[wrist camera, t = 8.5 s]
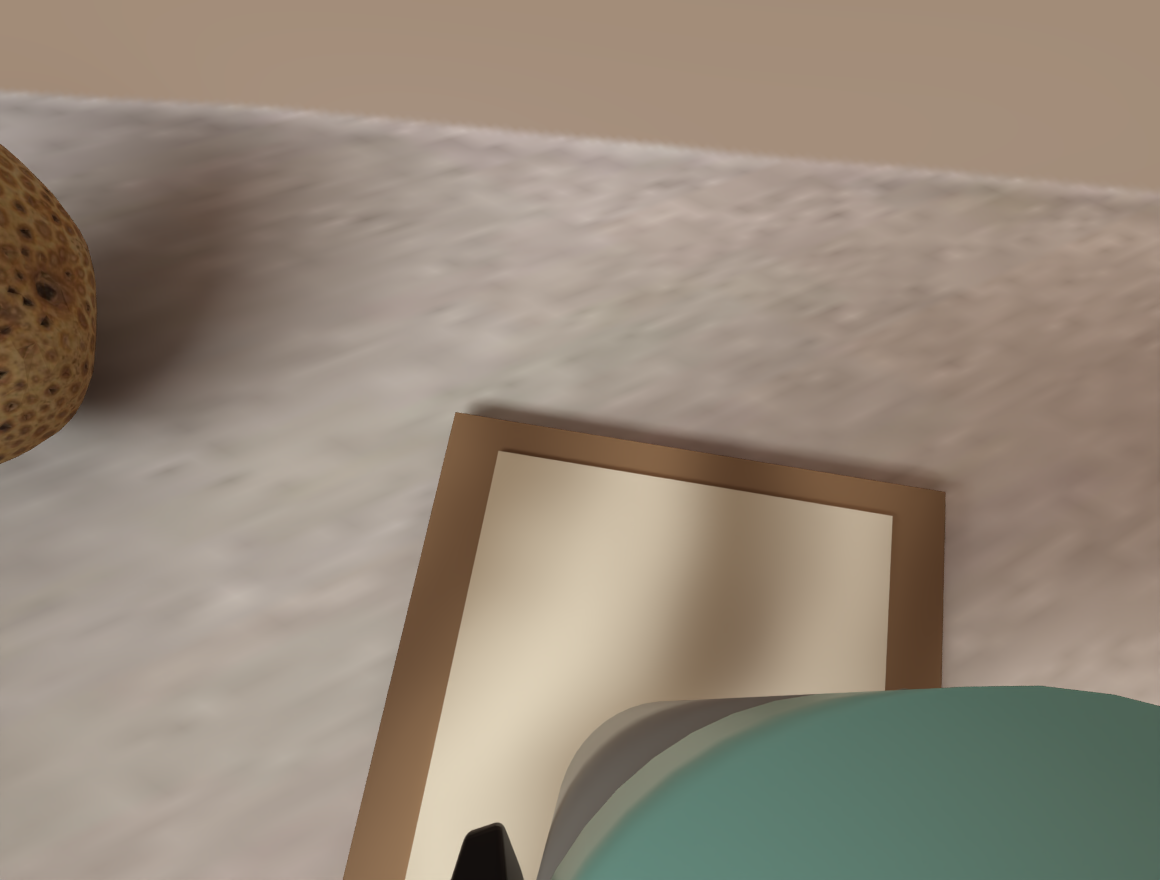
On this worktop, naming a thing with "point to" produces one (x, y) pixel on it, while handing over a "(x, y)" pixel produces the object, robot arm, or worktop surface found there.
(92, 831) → the worktop surface
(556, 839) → the green-topped grey cylinder
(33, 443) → the brown potato
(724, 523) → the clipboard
